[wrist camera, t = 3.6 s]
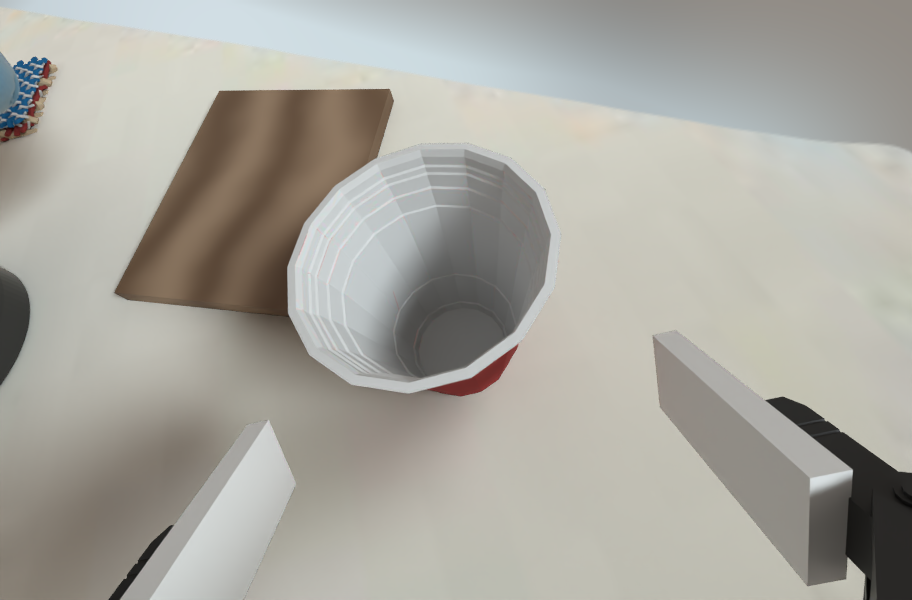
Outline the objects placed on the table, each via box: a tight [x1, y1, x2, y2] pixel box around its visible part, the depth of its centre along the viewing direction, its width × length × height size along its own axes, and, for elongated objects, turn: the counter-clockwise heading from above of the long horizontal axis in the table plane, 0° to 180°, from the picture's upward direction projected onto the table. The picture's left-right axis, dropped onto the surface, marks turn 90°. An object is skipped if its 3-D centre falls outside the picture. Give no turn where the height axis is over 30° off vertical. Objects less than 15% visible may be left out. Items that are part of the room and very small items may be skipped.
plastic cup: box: [287, 143, 561, 396], centre depth 22 cm, size 11×11×12 cm
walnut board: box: [114, 89, 394, 317], centre depth 35 cm, size 16×20×1 cm
